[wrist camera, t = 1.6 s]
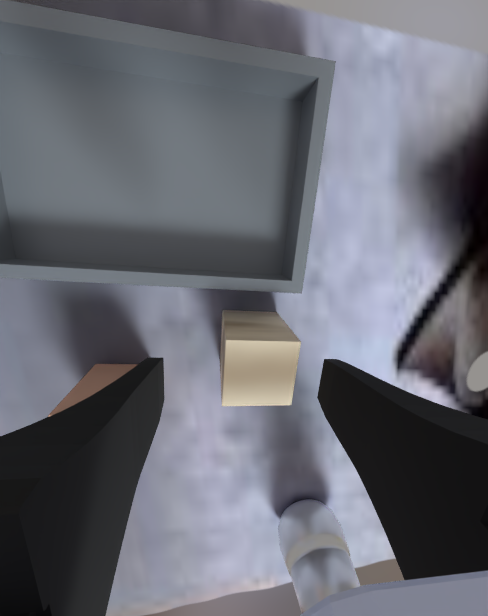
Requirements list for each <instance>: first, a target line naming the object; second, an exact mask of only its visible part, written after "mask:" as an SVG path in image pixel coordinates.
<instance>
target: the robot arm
mask: <svg viewBox="0 0 488 616" xmlns="http://www.w3.org/2000/svg"><path fill="white" fill-rule="evenodd" d="M317 398H318V400H319V403H320V405H321V408H322V410H323V412H324V415H325V417H326V419H327V420H328V422H329V424H330V426H331V427H332V429H333V431H334V433H335V434H336V436H337V438H338V439H339V441H340V443H341V444H342V446H343V448H344V449H345V451H346V453H347V455H348V456H349V458H350V460H351V461H352V463H353V465H354V466H355V468H356V470H357V472H358V474H359V476H360V478H361V480H362V482H363V484H364V486H365V488H366V490H367V493H368V495H369V497H370V499H371V501H372V503H373V506H374V508H375V510H376V512H377V515H378V517H379V519H380V521H381V524H382V526H383V528H384V530H385V533H386V535H387V538H388V540H389V543H390V545H391V547H392V550H393V552H394V555H395V557H396V560H397V562H398V565H399V567H400V569H401V572H402V574H403V577H404V581H395V582H388V583H378V584H370V585H363V586H360V587H356V588H353V589H349V590H346V591H342V592H339V593H335V594H332V595H329V596H327V597H326V598H324V599H323V600H322V601H320V602H319V603H317V604H316V605H314V606H313V607H311V608H310V609H308V610H307V611H305V612H304V613H302V614H301V615H300V616H488V419H484V418H480V417H477V416H473V415H470V414H467V413H464V412H461V411H458V410H454V409H451V408H448V407H445V406H443V405H440V404H437V403H434V402H432V401H429V400H426V399H424V398H421V397H418V396H416V395H414V394H411V393H409V392H406V391H404V390H402V389H400V388H398V387H395V386H393V385H391V384H389V383H387V382H385V381H382V380H380V379H378V378H376V377H374V376H372V375H370V374H368V373H366V372H364V371H362V370H360V369H358V368H356V367H354V366H352V365H350V364H348V363H345V362H343V361H340V360H337V359H324V363H323V369H322V375H321V380H320V386H319V391H318V397H317ZM163 403H164V367H163V358H147V359H145V360H144V361H142V362H141V363H140V364H138V365H137V366H135V367H134V368H133V369H131V370H130V371H128V372H127V373H126V374H124V375H123V376H121V377H120V378H118V379H117V380H115V381H114V382H112V383H111V384H109V385H107V386H106V387H104V388H103V389H101V390H100V391H98V392H96V393H95V394H93V395H91V396H90V397H88V398H86V399H84V400H82V401H80V402H78V403H77V404H75V405H73V406H71V407H69V408H67V409H65V410H63V411H61V412H58V413H56V414H54V415H52V416H49V417H47V418H45V419H43V420H40V421H38V422H36V423H34V424H31V425H29V426H26V427H24V428H21V429H19V430H16V431H14V432H11V433H9V434H6V435H3V436H0V616H105V615H106V610H107V606H108V601H109V597H110V593H111V588H112V584H113V580H114V575H115V571H116V567H117V563H118V558H119V554H120V550H121V546H122V542H123V538H124V534H125V530H126V526H127V521H128V517H129V514H130V510H131V506H132V502H133V498H134V494H135V490H136V487H137V484H138V481H139V477H140V474H141V471H142V469H143V466H144V463H145V460H146V458H147V455H148V452H149V449H150V446H151V444H152V441H153V438H154V435H155V432H156V430H157V427H158V424H159V421H160V417H161V412H162V408H163Z"/></svg>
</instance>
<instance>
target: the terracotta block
mask: <svg viewBox="0 0 488 616" xmlns="http://www.w3.org/2000/svg"><path fill="white" fill-rule="evenodd" d="M137 365H138V364H95V365H94V366H93V367H92V369H91V370H90V371H89V372H88V373H87V374H86V375H85V376H84V377H83V378H82V379H81V380H80V382H79V383H78V384H77V385H76V386H75V387H74V388H73V389H72V390H71V391H70V392H69V393H68V395H67V396H66V397H65V398H64V399H63V400H62V401H61V402H60V403H59V404H58V405H57V407H56V408H55V409H54V410H53V411H52V412H51V413H50V414H49V415H48V417H49V416H52V415H54V414H56V413H58V412H61V411H63V410H65V409H67V408H69V407H71V406H73V405H75V404H77V403H78V402H80V401H82V400H84V399H86V398H88V397H90V396H91V395H93V394H95V393H96V392H98V391H100V390H101V389H103V388H104V387H106V386H107V385H109V384H111V383H112V382H114V381H115V380H117V379H118V378H120V377H121V376H123V375H124V374H126V373H127V372H128V371H130V370H131V369H133V368H134V367H135V366H137Z"/></svg>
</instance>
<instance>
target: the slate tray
mask: <svg viewBox="0 0 488 616" xmlns="http://www.w3.org/2000/svg"><path fill="white" fill-rule="evenodd" d="M335 63H336V61H331V60H326V59H321V58H315V57H310V56H305V55H299V54H294V53H289V52H283V51H278V50H273V49H267V48H262V47H257V46H251V45H246V44H241V43H235V42H230V41H225V40H219V39H214V38H208V37H203V36H198V35H192V34H187V33H182V32H176V31H171V30H166V29H160V28H155V27H150V26H144V25H139V24H134V23H128V22H123V21H118V20H112V19H107V18H102V17H96V16H91V15H86V14H80V13H75V12H70V11H64V10H59V9H54V8H48V7H43V6H38V5H32V4H27V3H22V2H16V1H11V0H0V278H12V279H31V280H51V281H70V282H89V283H109V284H128V285H148V286H167V287H186V288H206V289H225V290H244V291H264V292H283V293H302V288H303V281H304V275H305V268H306V261H307V254H308V247H309V240H310V234H311V227H312V220H313V213H314V206H315V199H316V193H317V186H318V179H319V172H320V165H321V158H322V151H323V145H324V138H325V131H326V124H327V117H328V110H329V104H330V97H331V90H332V83H333V76H334V69H335Z"/></svg>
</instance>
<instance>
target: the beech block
mask: <svg viewBox="0 0 488 616" xmlns="http://www.w3.org/2000/svg"><path fill="white" fill-rule="evenodd" d="M300 345H301V341H300V340H299V339H298V338H297V336H296V335H295V334H294V333H293V332H292V330H291V329H290V328H289V327H288V325H287V324H286V323H285V322H284V320H283V319H282V318H281V317H280V316H279V314H278V313H277V312H261V311H237V310H223V312H222V330H221V348H220V374H221V396H222V406H278V405H291V403H292V397H293V390H294V384H295V377H296V371H297V364H298V358H299V351H300Z"/></svg>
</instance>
